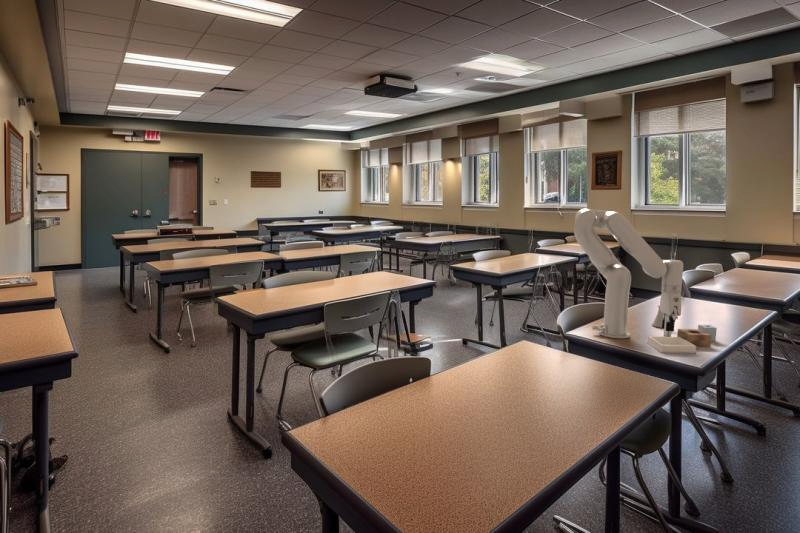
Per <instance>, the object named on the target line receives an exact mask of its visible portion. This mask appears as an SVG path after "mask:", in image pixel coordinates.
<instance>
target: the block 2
mask: <svg viewBox="0 0 800 533" xmlns="http://www.w3.org/2000/svg"><path fill="white" fill-rule="evenodd" d="M697 329H700V330H702V331H704V332H706V333H708V334H710V335H711V342H716V339H717V338H716V337H717V329H718V328H717V327H716V326H713V325H712V324H698V325H697Z"/></svg>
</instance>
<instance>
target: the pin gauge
mask: <svg viewBox="0 0 800 533" xmlns="http://www.w3.org/2000/svg"><path fill="white" fill-rule="evenodd" d="M672 315H673V314H672ZM670 318H671V317H670ZM667 319H668V315H667V314H665V325H664V329H663V337H672V331H666V322H667Z"/></svg>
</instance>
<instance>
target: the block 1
mask: <svg viewBox="0 0 800 533" xmlns="http://www.w3.org/2000/svg"><path fill="white" fill-rule="evenodd" d="M676 334H677V335H676V337H680V338H682V339H684V340H686V341H688V342H689V343H691V344H693V345H695V346H696V348H697V347H700V348H702V347H703V348H706V347H707V348H711V343H712V341H711V335H710V334H708V333H706V332H704V331H702V330H700V329H698V328H695V329H693V328H691V329H690V328H677V333H676Z"/></svg>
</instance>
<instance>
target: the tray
mask: <svg viewBox="0 0 800 533" xmlns="http://www.w3.org/2000/svg"><path fill="white" fill-rule="evenodd" d="M646 344H648V345H649V346H650V347H653V348H654V349H655V350H657V351H658V352H660V353H661V354H662V353H664V354H667V353H668V354H689V355H690V354H691V355H692V354H693V355H695V354H697V353H696V352H697V347H696V346H695V345H693V344H691V343H689V342H688V341H686V340H684V339H682V338H680V337H677V336H671V337H664V336H653V335H651V336H650V335H649V336H647V343H646Z"/></svg>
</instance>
